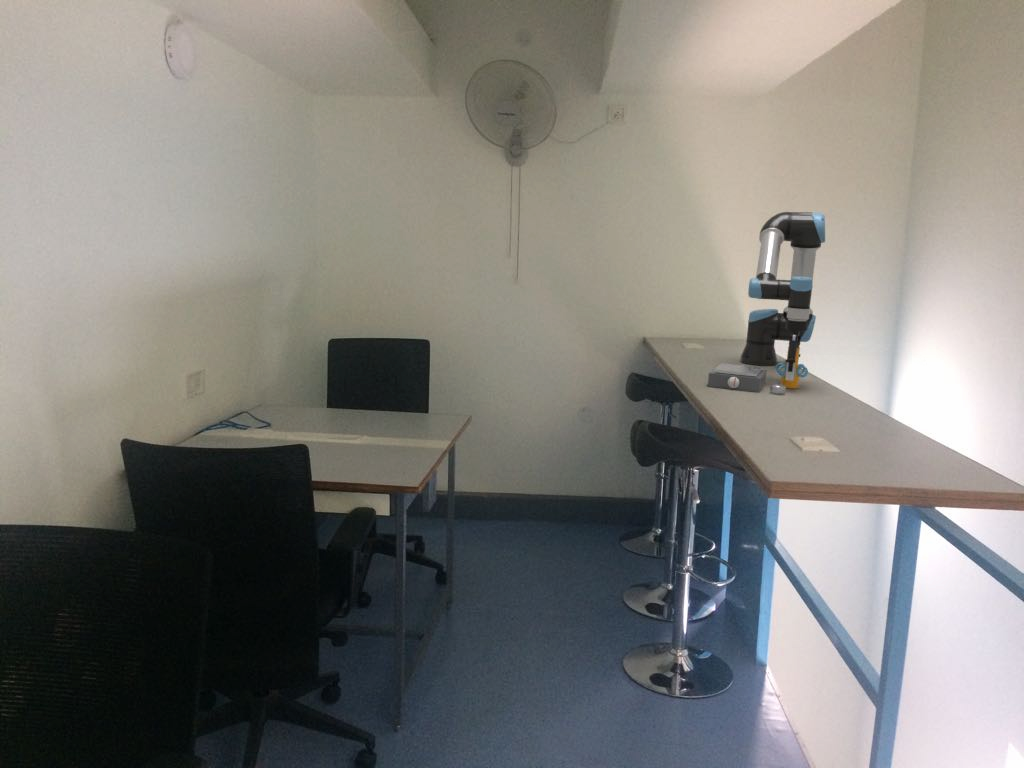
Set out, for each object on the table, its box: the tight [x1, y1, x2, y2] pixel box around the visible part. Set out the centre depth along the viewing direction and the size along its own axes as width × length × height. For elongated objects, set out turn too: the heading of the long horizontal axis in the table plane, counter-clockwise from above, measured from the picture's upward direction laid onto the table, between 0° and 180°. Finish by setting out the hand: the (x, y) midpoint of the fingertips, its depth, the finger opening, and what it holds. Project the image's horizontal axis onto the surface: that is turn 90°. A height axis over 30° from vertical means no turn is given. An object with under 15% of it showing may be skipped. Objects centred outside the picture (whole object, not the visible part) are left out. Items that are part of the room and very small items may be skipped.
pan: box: [713, 362, 763, 377], centre depth 277 cm, size 15×15×5 cm
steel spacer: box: [769, 383, 787, 396], centre depth 265 cm, size 5×5×3 cm
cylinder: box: [775, 346, 809, 390], centre depth 275 cm, size 12×10×15 cm
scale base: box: [707, 364, 767, 393], centre depth 277 cm, size 19×18×5 cm
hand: (790, 377), depth 276 cm, fingers open, 13 cm apart
